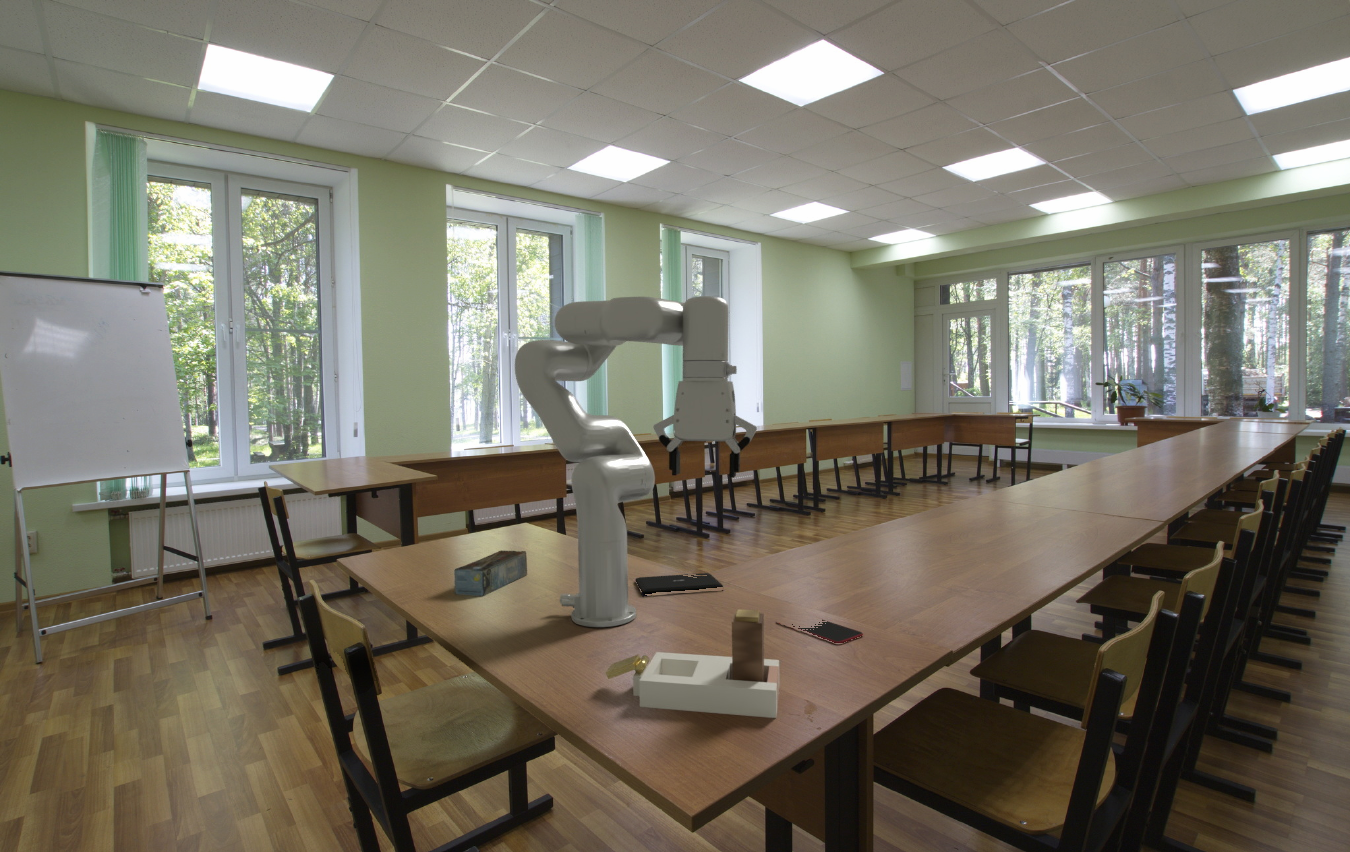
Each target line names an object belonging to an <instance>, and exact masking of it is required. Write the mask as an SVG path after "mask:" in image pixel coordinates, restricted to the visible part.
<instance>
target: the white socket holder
mask: <svg viewBox="0 0 1350 852" xmlns="http://www.w3.org/2000/svg"><path fill="white" fill-rule="evenodd" d="M632 682H633V683H632V685H633V687H632V688H633V689H632V691H633V692H632V693H633V696H634V697H639V707H640V708H648V709H649V708H650V709H662V710H673V711H676V710H677V711H687V712H699V713H700V712H701V713H711V714H723V715H734V716H735V715H737V716H747V717H757V718H758V717H761V718H770V719H777V717H778V716H777V715H778V704H779V691H780V660H779V659H771V658H770V659H768V658H764V682H755V681H741V680H733V677H732V656H722V655H706V654H692V653H691V654H690V653H676V652H663V651H662V652H660V651H655V653H654V656H653V657H652V659H651V661H649V663H648V664H647V666H646V667H645V669H644V671H643V672H642V673H641V674H638V673H636V672H634V673H633V675H632Z"/></svg>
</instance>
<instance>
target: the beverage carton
mask: <svg viewBox="0 0 1350 852" xmlns="http://www.w3.org/2000/svg"><path fill="white" fill-rule="evenodd" d="M453 570H454V572H453V573H454V590H455V595H464V596H472V597H473V596H475V597H485V596H487V595H489V594H490V593H492V592H495V591H497V590H499V589H502V588H503V587H505V586H507V585H509V584H511V583H513V582H515V581H517V580H519V579H521V578H523V577H525V575H526V576H528V562H527V552H526V550H525V551H524V550H521V551H519V550H517V551H516V550H498V551H496V552H494V553H491V554H489V555H487V556H484V557H483V558H480V559H477V560H476V561H473V562H470V563H468V564H466V565H465V564H464V565H463V566H460V567H457V568H455V569H453Z"/></svg>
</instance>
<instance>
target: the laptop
mask: <svg viewBox="0 0 1350 852" xmlns="http://www.w3.org/2000/svg"><path fill="white" fill-rule="evenodd" d="M688 574H689V573H688ZM688 574H687V573H686V574H685V573H684V574H673V575H669V574H668V575H659V576H658V575H656V576H655V575H654V576H640V577H637V578H635V581H636V582H637V584H638V586H639V588H640V589H641V591H642V594H641V596H642V595H643V596H647V595H645V594H652V593H656V592H671V591H685V590H699V589H706V588H717V587H723V588H724V585H723V584H722V583H721V581H719V580H717V579H716V578H715V577H714V576H713V575H712V574H711V573H708V572H704V573H703V572H702V573H695V574H696V575H707V576H694V575H691V576H693V577H697V578H693V577H688V576H683V575H688ZM639 588H638V589H639ZM643 596H642V597H643Z"/></svg>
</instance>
